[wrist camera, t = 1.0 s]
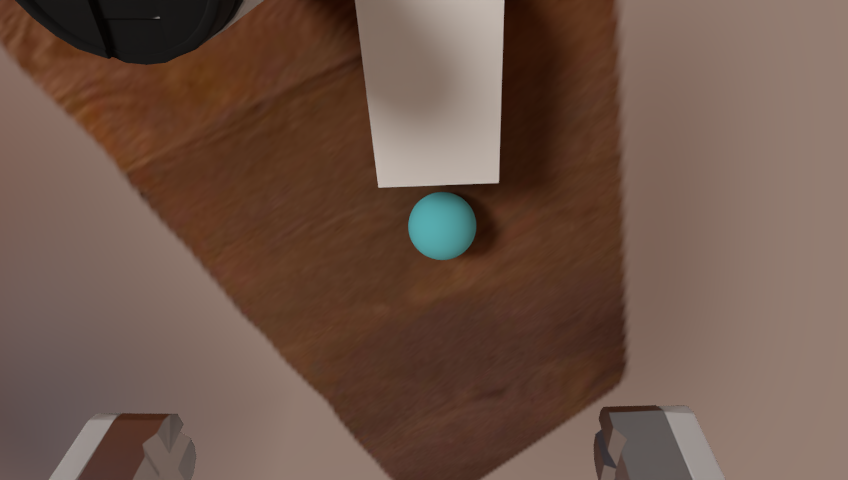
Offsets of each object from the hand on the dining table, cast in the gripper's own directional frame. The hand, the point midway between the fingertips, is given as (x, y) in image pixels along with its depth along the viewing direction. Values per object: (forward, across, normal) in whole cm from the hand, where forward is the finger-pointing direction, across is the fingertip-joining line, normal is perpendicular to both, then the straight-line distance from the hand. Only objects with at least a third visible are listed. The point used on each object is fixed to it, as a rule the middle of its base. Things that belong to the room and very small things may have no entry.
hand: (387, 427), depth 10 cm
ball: (+26, -1, +12) cm, 29 cm away
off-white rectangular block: (+28, -1, 0) cm, 28 cm away
